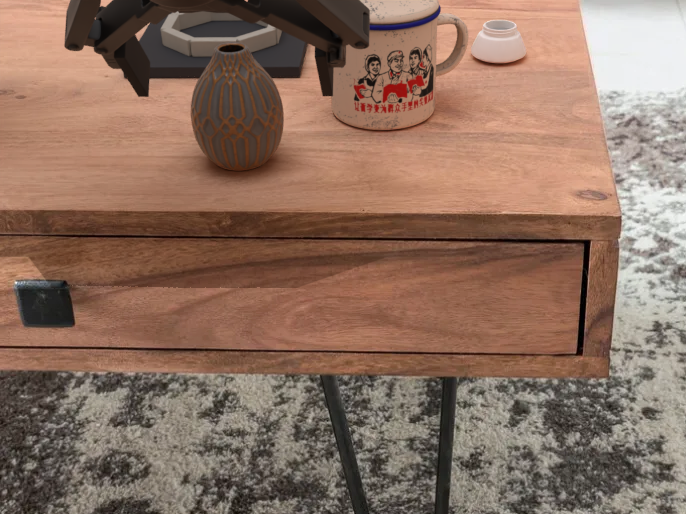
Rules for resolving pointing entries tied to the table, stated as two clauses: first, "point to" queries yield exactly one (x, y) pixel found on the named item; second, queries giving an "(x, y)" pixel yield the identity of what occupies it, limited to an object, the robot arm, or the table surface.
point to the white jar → (498, 42)
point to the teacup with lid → (395, 66)
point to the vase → (236, 110)
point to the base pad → (210, 31)
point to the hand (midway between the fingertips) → (236, 79)
